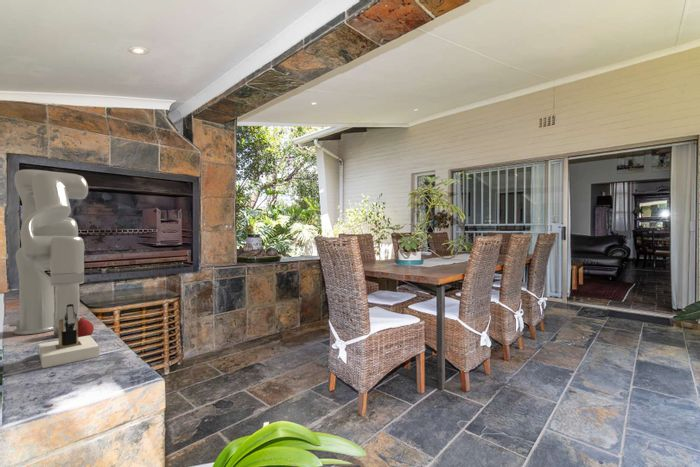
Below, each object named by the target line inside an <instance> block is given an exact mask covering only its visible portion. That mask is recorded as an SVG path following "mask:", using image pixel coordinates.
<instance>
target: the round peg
mask: <svg viewBox="0 0 700 467" xmlns="http://www.w3.org/2000/svg"><path fill="white" fill-rule="evenodd" d="M54 314H55V312H54ZM53 337H54V338H59V322H58V321H57V320H56V319H55V317H54V330H53Z"/></svg>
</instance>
